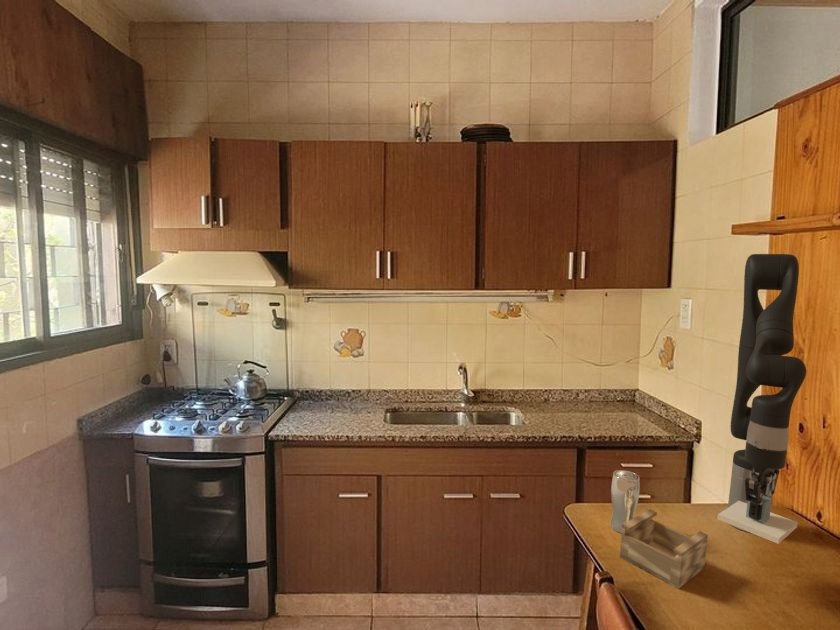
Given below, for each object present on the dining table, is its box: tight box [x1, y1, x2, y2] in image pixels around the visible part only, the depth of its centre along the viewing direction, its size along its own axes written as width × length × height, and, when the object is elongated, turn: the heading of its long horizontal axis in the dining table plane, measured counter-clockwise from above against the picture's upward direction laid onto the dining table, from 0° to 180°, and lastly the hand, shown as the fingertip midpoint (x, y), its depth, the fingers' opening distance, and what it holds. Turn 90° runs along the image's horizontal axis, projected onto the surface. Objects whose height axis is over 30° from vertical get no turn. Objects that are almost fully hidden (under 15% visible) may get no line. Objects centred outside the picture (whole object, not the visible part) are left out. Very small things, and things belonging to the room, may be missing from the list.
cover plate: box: [716, 496, 798, 545], centre depth 110 cm, size 12×12×6 cm
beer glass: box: [609, 469, 641, 534], centre depth 131 cm, size 7×7×15 cm
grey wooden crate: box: [619, 509, 709, 589], centre depth 116 cm, size 13×14×8 cm
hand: (757, 515), depth 110 cm, fingers closed on cover plate, 3 cm apart
